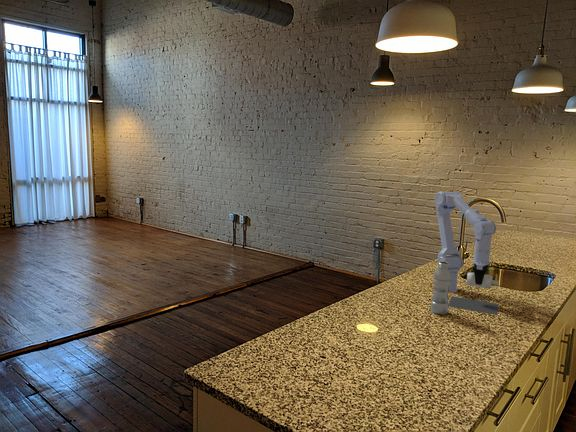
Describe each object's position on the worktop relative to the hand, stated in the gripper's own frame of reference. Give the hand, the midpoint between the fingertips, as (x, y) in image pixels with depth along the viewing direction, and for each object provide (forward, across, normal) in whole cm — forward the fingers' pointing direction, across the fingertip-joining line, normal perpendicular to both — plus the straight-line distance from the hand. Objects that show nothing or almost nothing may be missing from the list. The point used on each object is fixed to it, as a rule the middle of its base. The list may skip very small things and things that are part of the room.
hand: (478, 282), depth 181 cm
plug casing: (+1, 0, -1) cm, 2 cm away
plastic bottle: (+9, -20, +12) cm, 25 cm away
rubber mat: (+9, -4, +1) cm, 10 cm away
